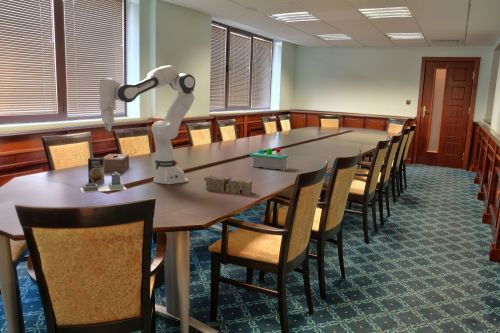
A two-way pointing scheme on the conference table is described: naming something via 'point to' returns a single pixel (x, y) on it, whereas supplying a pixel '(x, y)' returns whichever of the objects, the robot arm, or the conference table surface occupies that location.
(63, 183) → the conference table surface
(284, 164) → the control panel
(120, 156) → the tissue box cover
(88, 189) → the panel
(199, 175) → the conference table surface
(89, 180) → the coffee box
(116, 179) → the plug
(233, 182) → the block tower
